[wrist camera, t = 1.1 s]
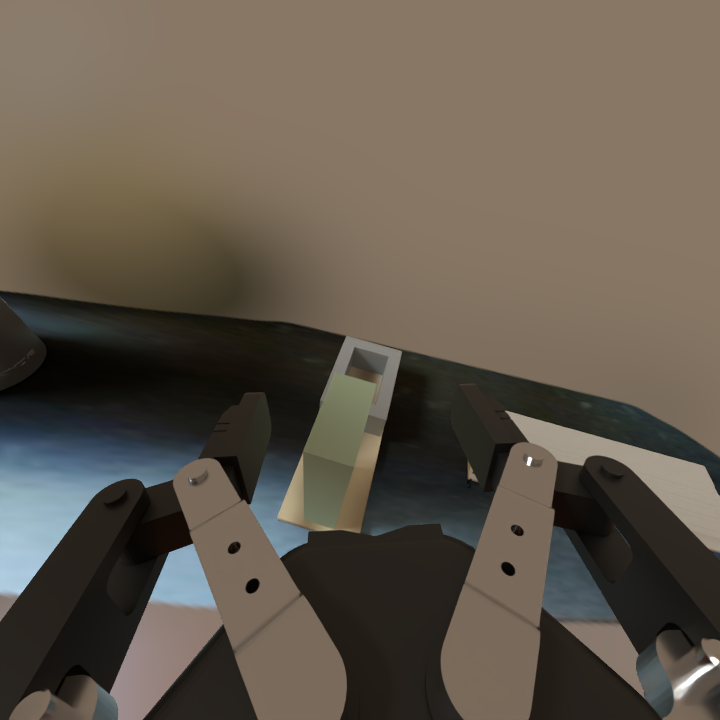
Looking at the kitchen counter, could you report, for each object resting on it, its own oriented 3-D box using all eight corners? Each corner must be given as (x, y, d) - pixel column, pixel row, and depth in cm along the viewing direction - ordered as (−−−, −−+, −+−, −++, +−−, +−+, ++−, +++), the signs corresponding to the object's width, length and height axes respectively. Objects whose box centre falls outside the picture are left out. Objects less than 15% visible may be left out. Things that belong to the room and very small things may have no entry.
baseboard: (744, 576, 33) (693, 470, 41) (775, 573, 31) (715, 462, 39) (464, 493, 35) (465, 406, 43) (475, 485, 33) (474, 395, 40)
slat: (303, 519, 30) (303, 451, 17) (324, 461, 33) (334, 372, 21) (333, 529, 29) (354, 467, 17) (350, 469, 33) (376, 384, 21)
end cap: (318, 418, 37) (320, 400, 34) (343, 355, 43) (346, 335, 40) (379, 436, 36) (386, 420, 33) (395, 370, 43) (401, 351, 40)
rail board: (277, 519, 30) (277, 517, 29) (341, 358, 44) (342, 353, 44) (356, 545, 30) (357, 543, 29) (395, 373, 44) (397, 369, 43)
